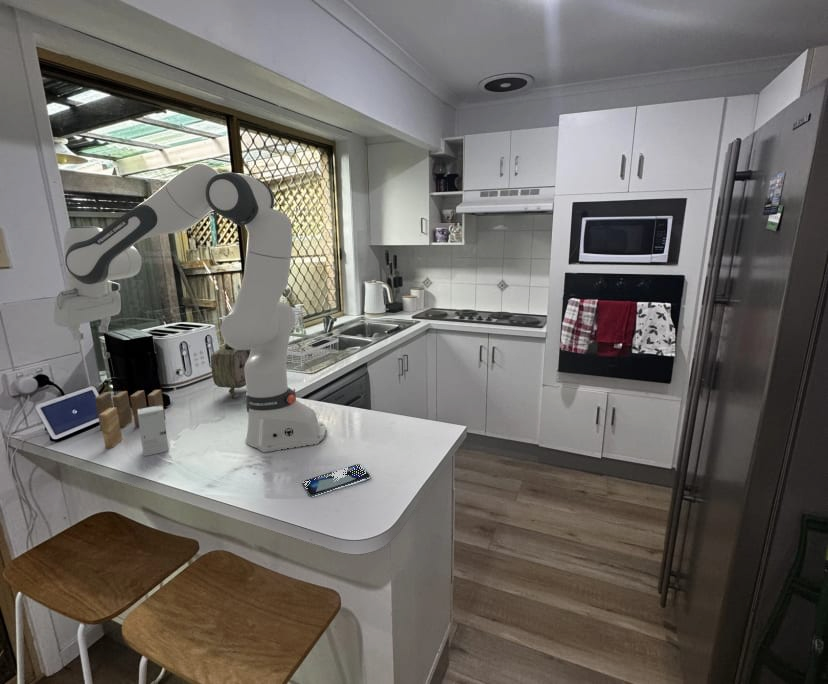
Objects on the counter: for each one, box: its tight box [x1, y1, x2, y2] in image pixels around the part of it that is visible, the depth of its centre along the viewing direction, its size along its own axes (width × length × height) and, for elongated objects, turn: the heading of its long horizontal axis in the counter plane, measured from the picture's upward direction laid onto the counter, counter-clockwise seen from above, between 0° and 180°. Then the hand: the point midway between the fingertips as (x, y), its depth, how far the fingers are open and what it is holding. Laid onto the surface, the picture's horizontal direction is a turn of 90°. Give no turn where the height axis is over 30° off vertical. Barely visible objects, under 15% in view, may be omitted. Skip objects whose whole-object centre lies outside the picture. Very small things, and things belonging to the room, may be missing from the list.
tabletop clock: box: [210, 342, 251, 399], centre depth 158 cm, size 14×9×25 cm, turn 170°
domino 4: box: [147, 389, 166, 420], centre depth 135 cm, size 2×5×10 cm, turn 7°
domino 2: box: [111, 390, 133, 428], centre depth 134 cm, size 2×5×10 cm, turn 7°
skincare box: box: [137, 405, 169, 457], centre depth 116 cm, size 6×4×12 cm
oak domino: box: [99, 407, 123, 449], centre depth 121 cm, size 2×5×10 cm, turn 7°
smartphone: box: [302, 463, 371, 497], centre depth 102 cm, size 7×1×15 cm
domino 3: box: [129, 389, 148, 426], centre depth 134 cm, size 2×5×10 cm, turn 7°
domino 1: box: [94, 391, 114, 429], centre depth 133 cm, size 2×5×10 cm, turn 7°
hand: (91, 335), depth 120 cm, fingers open, 8 cm apart
